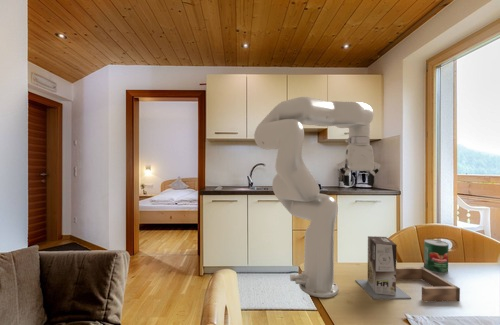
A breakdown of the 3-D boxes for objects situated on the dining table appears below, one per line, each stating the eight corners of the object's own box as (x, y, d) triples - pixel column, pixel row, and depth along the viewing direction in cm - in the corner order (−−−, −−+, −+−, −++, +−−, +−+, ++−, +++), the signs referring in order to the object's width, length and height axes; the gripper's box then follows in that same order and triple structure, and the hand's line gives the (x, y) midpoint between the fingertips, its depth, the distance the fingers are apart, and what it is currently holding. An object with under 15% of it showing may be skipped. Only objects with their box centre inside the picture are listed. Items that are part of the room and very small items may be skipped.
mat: (373, 299, 77) (373, 297, 77) (355, 280, 89) (355, 279, 89) (411, 298, 78) (411, 297, 78) (388, 280, 90) (388, 279, 90)
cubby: (424, 301, 76) (424, 288, 76) (393, 278, 92) (393, 267, 92) (459, 301, 77) (459, 288, 77) (422, 278, 92) (423, 267, 92)
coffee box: (396, 296, 79) (397, 244, 79) (374, 294, 80) (375, 243, 80) (386, 282, 88) (387, 236, 88) (366, 280, 89) (367, 235, 89)
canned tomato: (437, 274, 95) (437, 246, 95) (418, 266, 103) (419, 239, 103) (453, 272, 97) (454, 244, 97) (434, 264, 105) (434, 238, 105)
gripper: (341, 140, 94) (340, 186, 94) (385, 141, 95) (385, 186, 95) (333, 142, 102) (333, 184, 102) (375, 143, 103) (374, 184, 103)
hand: (358, 185), depth 99 cm, fingers open, 9 cm apart
